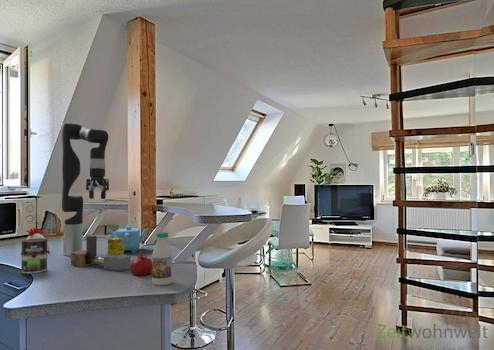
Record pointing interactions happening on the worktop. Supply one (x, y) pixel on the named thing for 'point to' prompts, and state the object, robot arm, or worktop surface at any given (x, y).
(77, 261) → the socket block
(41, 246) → the coffee can
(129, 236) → the teakettle
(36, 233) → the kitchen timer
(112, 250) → the supplement box
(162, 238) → the milk bottle
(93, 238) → the rod
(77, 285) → the worktop surface
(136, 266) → the pomegranate
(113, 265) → the sleeve
